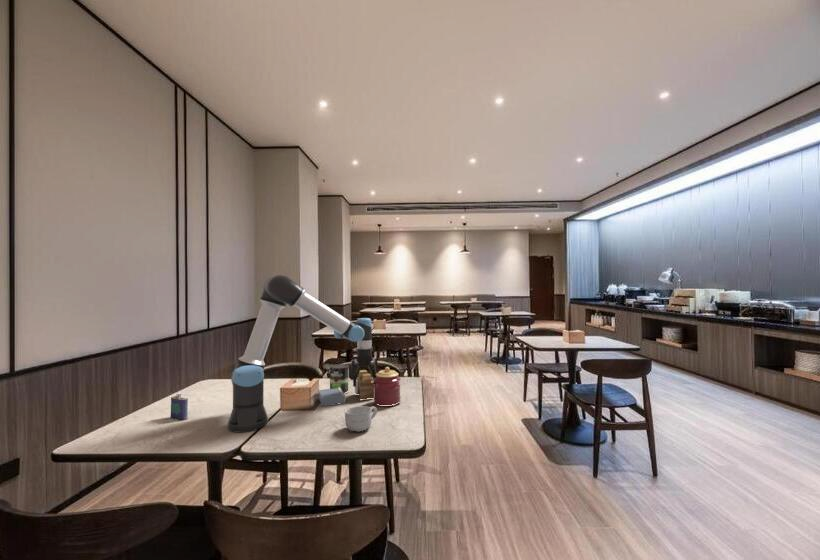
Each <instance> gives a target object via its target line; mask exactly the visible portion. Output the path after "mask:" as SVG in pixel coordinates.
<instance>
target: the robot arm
mask: <svg viewBox="0 0 820 560" xmlns="http://www.w3.org/2000/svg"><path fill="white" fill-rule="evenodd" d="M259 300H260V303H261V306H260V309H259V311H258V315H257V318H256V320H255V323H254V325H253V328H252V331H251V334H250V337H249V340H248V342H247V346H246V348H245V350H244V354H243V355H242V356H241V357H238V360H237V362H236V365H235V368H234V369H233V370H232V372H231V376H230V378H231V384H232V409H231V412H230V416H229V417H228V422H227V429H228V431H230V430H231V431H230V432H233V431H236V432H235V433H245V432H244V431H246V432H251V431H250V430H252V431H255V429H256V430H259V429H262V428H265V426H267V425H268V423H269V417H268V414H267V411H266V407H265V405H264V403H265V402H264V397H265V396H264V385H265V384H264V378H265V373H264V370H265V367H266V363H265V361H264V359H265V356H266V353H267V351H268V347H269V345H270V342H271V338H272V336H273V333H274V331H275V327H276V325H277V321H278V319H279V316H280V314H281V313H280V312H281V311H282V310H283V309H285V308H286V307H287V305H288V306H290V307H291V308H292V307H296V308H297V309H299V310H301V311H302V312H304V313H305V314H307V315H309V316H311V317H312V318H314V319H315V320H317V321H318V322H320V323H322V325H323V324H324V325H325V326H327V327H328V328H329V329H331V330H333V336H334V338H336V339H340V340H341V339H346V340H349V341H351V342H353V343H356V345H357V349H356V353H357V354H356V359H351V361H350V362H351V367H350V372H349V380H351V381H352V386H353V388H354V392H355V393H356V394H358V381H357V380H356V379H357V378H358V374H359V372H360V370H361V369H362V367H367V369H369V372H370V374H371V380H372V381H373V382H374V385H375V381H374V378H376V373H378V372H379V371H380V370H379V365H378V360H379V359H378V358H377V357H373V351H372V345H373V343H372V342H373V341H372V340H373V338H372V336H373V335H372V333H373V332H372V331H373V330H372V329H373V326H372V319H371V318H369V317H361V318H359V317H358V318H356V319H357V320H356V322H352V321H351V320H349V319H347V318H346V317H345V316H344V315H342V314H340V313H338V312H337V311H336V310H334V309H332V308H331V307H329V306H328V305H326V304H324V303H323V302H321V301H320V300H318V299H317V298H315V297H314V296H312V295H310V294H309V293H307V291H306V290H305V288H304V287H303V286H301V285H299V284H298V283H297V282H296V281H294V279H292V278H291V277H289V276H287V275H284V274H277V275H276V274H275V275H272V276H270V277H269V278H267V280H266V281H265V282H264V284H263V290H262V293H261V296H260V299H259ZM371 362H373V366H374V370H373V366H372V364H371ZM357 363H358V365H357V367H356V364H357ZM355 367H356V370H355ZM374 371H375V372H374ZM354 372H355V373H354ZM238 431H239V432H238Z"/></svg>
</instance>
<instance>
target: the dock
mask: <svg viewBox="0 0 820 560" xmlns="http://www.w3.org/2000/svg"><path fill="white" fill-rule="evenodd" d="M318 400H319V402H321V403H320V405H321V407H326V406H325V405H329V406H333V405H332V404H337V405H339V404H338V403H345V404H346V394H344V393H343V392H342V390H341V389H340V387H339V388H335V389H330V388H328V389H327V388H326V389H319V390H318Z"/></svg>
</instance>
